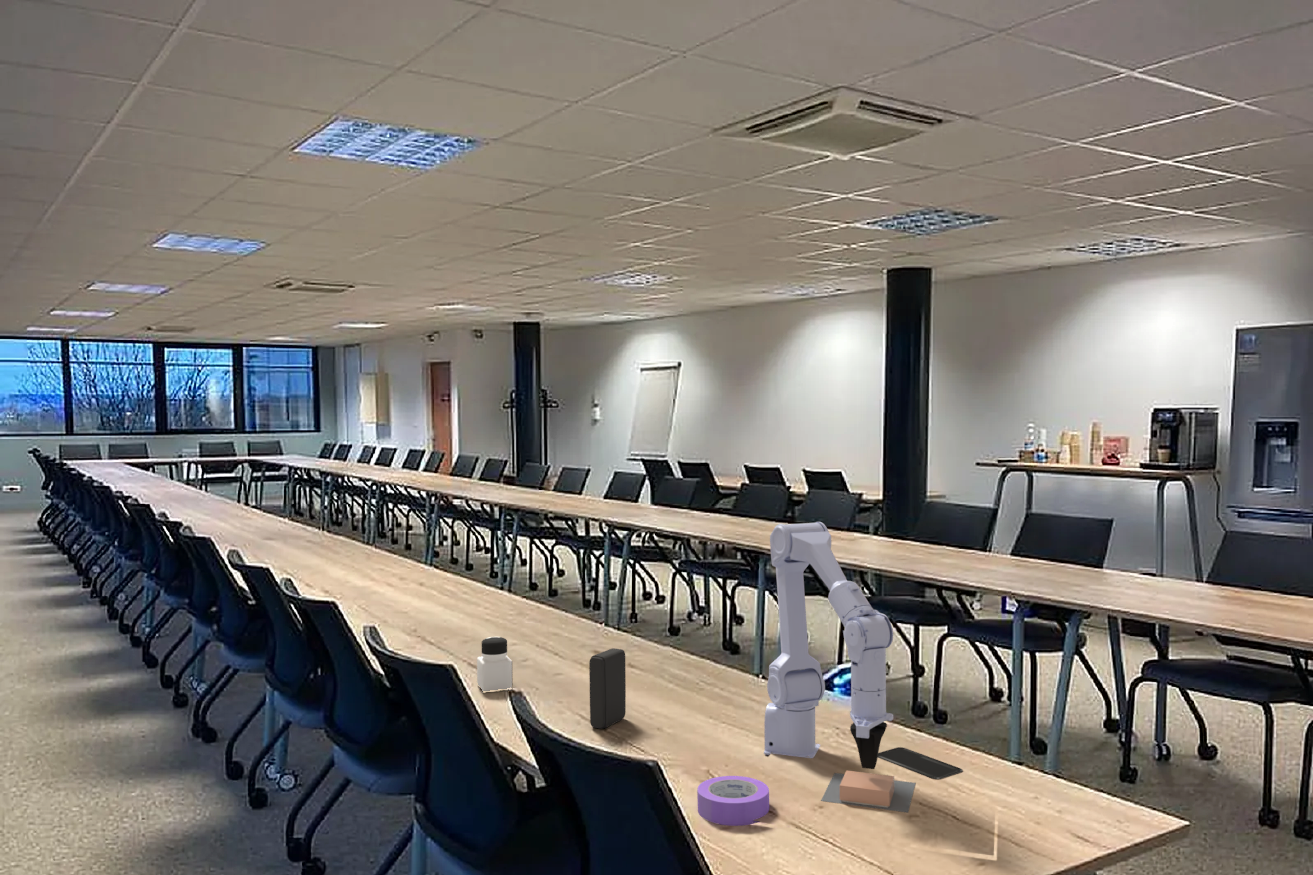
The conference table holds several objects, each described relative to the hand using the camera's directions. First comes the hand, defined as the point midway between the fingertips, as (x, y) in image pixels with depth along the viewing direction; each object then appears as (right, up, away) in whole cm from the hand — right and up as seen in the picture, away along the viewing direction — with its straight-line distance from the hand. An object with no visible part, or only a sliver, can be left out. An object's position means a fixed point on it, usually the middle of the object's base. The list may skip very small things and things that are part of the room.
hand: (868, 767), depth 158 cm
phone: (+12, -5, +14) cm, 19 cm away
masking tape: (-23, -6, -5) cm, 24 cm away
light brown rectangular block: (+1, -3, +2) cm, 3 cm away
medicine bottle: (-74, -5, +66) cm, 100 cm away
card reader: (-46, -5, +40) cm, 61 cm away
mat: (0, -5, +1) cm, 5 cm away
